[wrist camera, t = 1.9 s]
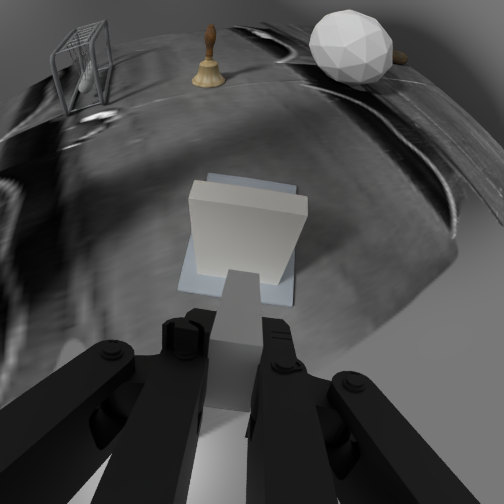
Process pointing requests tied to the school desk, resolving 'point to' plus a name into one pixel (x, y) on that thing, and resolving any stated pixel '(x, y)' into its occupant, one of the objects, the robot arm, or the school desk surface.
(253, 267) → the tile
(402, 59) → the brown hollow tube
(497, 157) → the school desk surface
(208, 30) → the hand bell
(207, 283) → the mat
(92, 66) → the newton's cradle
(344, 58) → the geometric polyhedron
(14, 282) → the school desk surface
